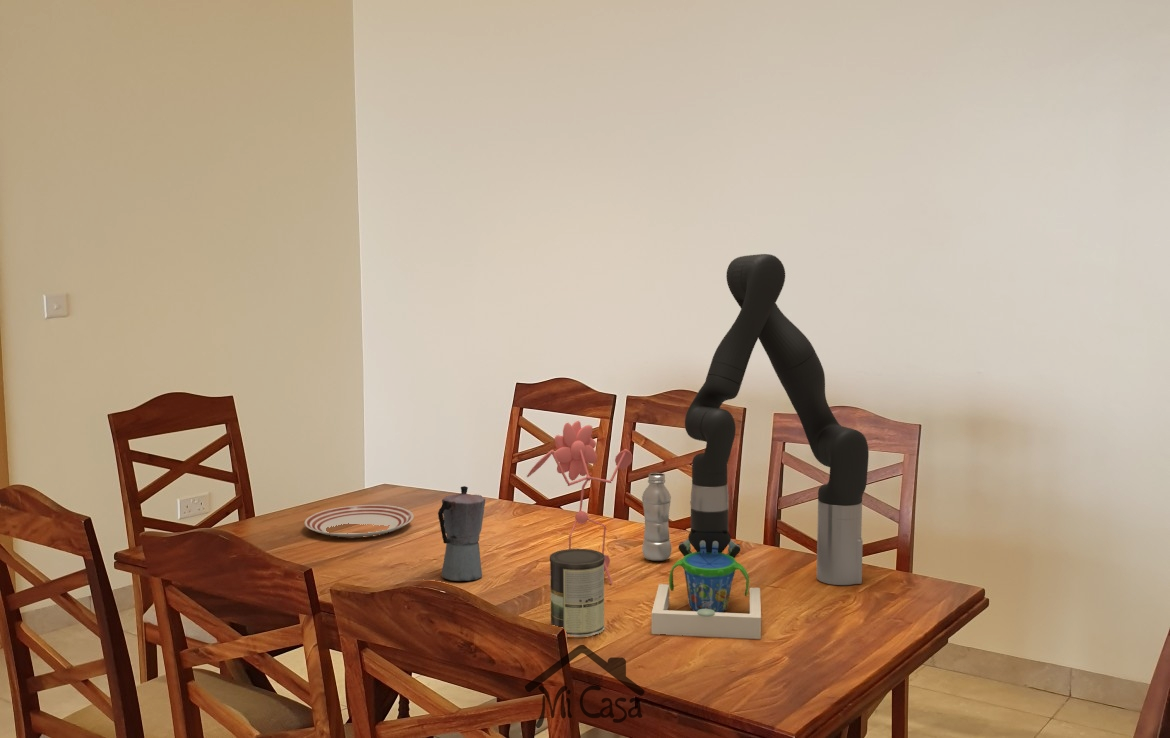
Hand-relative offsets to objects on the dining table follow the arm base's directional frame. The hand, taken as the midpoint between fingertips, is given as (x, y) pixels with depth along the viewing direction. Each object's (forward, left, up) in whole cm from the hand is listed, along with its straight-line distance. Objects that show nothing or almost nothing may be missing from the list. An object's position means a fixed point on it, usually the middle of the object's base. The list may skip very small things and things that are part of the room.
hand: (709, 589), depth 221 cm
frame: (0, +11, -3) cm, 12 cm away
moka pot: (+54, -10, -3) cm, 55 cm away
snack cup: (0, +5, -3) cm, 6 cm away
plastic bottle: (+13, -29, -3) cm, 32 cm away
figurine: (+29, -10, -3) cm, 31 cm away
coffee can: (+24, +19, -3) cm, 31 cm away
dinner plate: (+91, -48, -3) cm, 103 cm away
